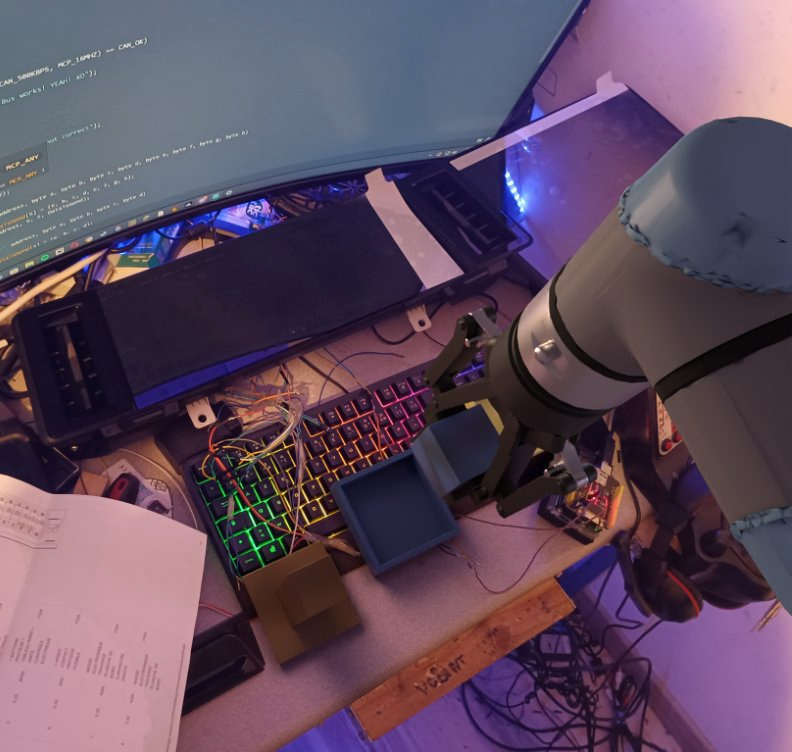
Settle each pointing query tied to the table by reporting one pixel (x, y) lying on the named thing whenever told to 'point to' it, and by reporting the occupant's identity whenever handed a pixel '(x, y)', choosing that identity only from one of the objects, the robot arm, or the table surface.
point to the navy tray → (393, 511)
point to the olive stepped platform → (300, 601)
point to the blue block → (457, 449)
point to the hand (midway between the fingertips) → (442, 466)
